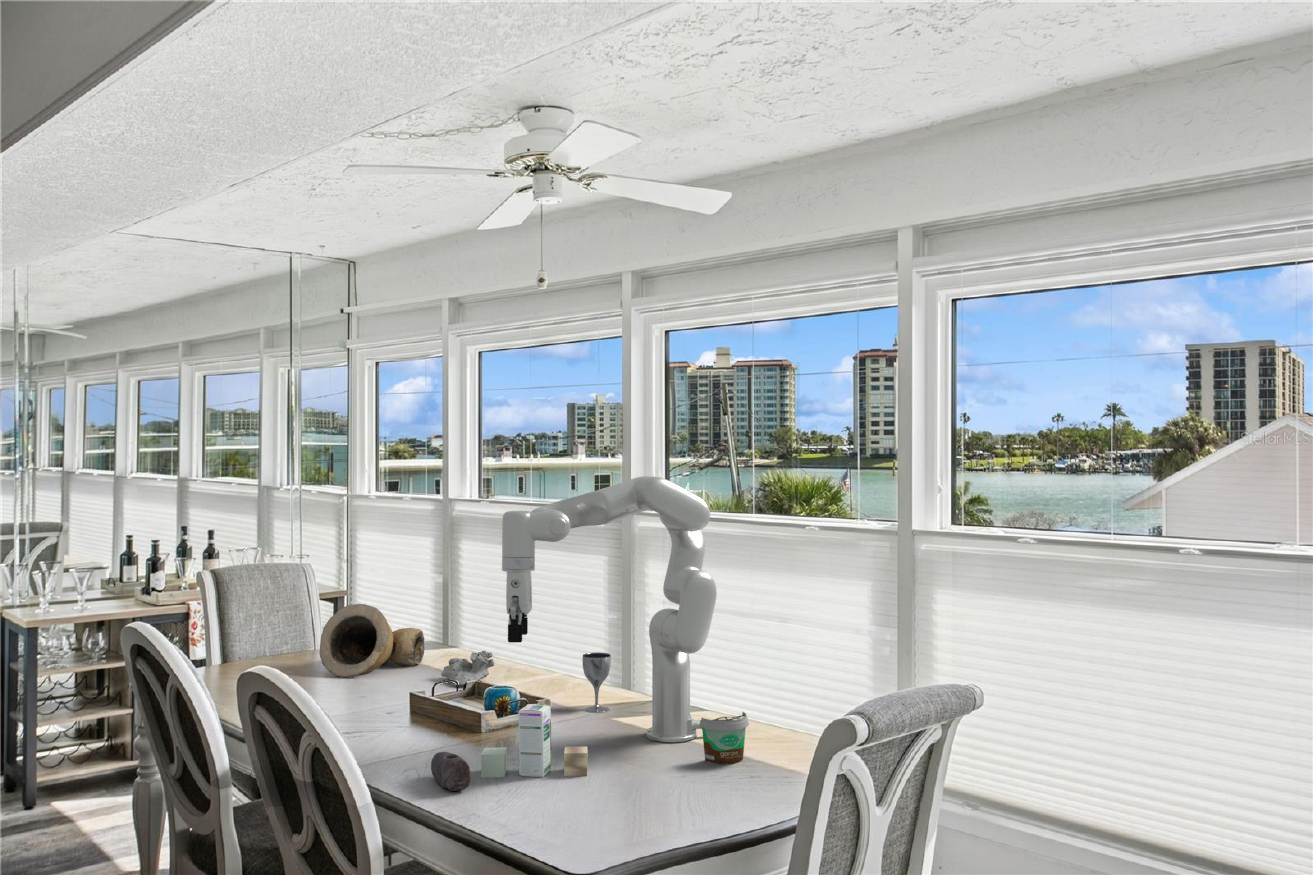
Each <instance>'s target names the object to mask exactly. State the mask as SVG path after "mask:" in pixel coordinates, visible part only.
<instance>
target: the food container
mask: <svg viewBox="0 0 1313 875" xmlns="http://www.w3.org/2000/svg"><path fill="white" fill-rule="evenodd" d="M741 714H742V715H738V716H737V715H736V716H720V717H718V718H714V719H707V718H705V717H701V718H700V719H699V720H700V726H699V727H702V729H701V732H702V740H703V741H702V743H703V752H704V753H703V754H704V761H705V762H707V763H711V764H714V765H715V764H717V765H733V764H737V763H740V762H742V761H743V759H744V753H745V752H744V751H745V740H746V728H747V727H749V725H750V723H749V719H748V716H747V713H746V712H744V711H742V713H741Z"/></svg>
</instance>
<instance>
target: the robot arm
mask: <svg viewBox="0 0 1313 875" xmlns="http://www.w3.org/2000/svg"><path fill="white" fill-rule="evenodd" d="M646 511H650V512H655V513H657V514H658V516H659V519H660V522H661V523H662V525H664V528H666V530H667V531H668V534H669V535H670V536H669V537H670V540H671V549H670V555H669V559H668V564H667V568H666V573H665V577H664V582H663V587H662V588H663V589H662V591H663V595H664V597H665V599H666V600H668V601H669V602H671V603H673V604H675V605H679V606H678V609H676V608H663V609H660V610H659V611H657V612H655V613H654V615H653V616H652V617H651V619H650V622H649V625H648V626H649V627H648V635H649V636H648V637H649V642H650V647H651V648H650V649H651V656H652V657H651V658H652V659H651V660H652V666H651V667H652V676H651V677H652V678H651V679H652V680H651V681H652V686H651V688H652V690H651V691H652V694H651V695H652V697H651V698H652V699H651V700H652V701H651V702H652V703H651V704H652V710H651V711H652V714H651V715H652V716H651V717H652V720H651V721H652V726H651V727H649V728H647V729H646V732H645V736H646V737H647V738H648V739H649V740H652V741H656V742H661V743H684V742H687V741H690V740H693V739H695V738H696V737H697V730H702V727H699V726H700V720H701V719H694V718H692V715H691V660H690V655H691V654H695V653H697V652H698V651H700V650H701V649H702V648H703V647H704V645H705V643H706V642H707V639H708V636H709V633H710V629H711V624H712V619H713V614H714V612H715V605H716V601H717V594H718V593H717V591H718V590H717V585H716V583H715V579H714V577H712V576H711V575H710V573H708V572H707V571H704V570H703V569H702V568H703V564H704V558H705V551H706V549H705V547H706V542H705V538H704V535H703V531H702V530H704V528H706V527H707V525H708V524H709V522H710V518H711V511H710V508H709V506H708V504H707V502H706V501H705V500H704V499H703V498H701V497H699V496H697V495H695V494H694V493H692V492H690V491H688V490H686V489H685V488H683V487H681V486H679V485H677V484H675V483H674V482H672V481H670V480H668V479H666V478H664V477H661V476H647V475H646V476H645V475H644V476H638V477H633V478H631V479H628V480H625V481H622V482H619V483H615V484H612V485H611V486H606V487H604V488H601V489H600V488H599V489H597V490H594V491H590V492H586V493H583V494H579V495H576V496H572V497H568V498H565V499H564V498H563V499H562V500H556V501H553V502H552V503H547V504H545V505H542V506H539V507H536V508H534V509H533V510H531V511H529V510H508V511H506V512H504V513H503V515H502V520H501V521H502V522H501V523H502V526H501V528H502V530H501V532H502V537H501V571H503V572H506V591H505V592H506V595H505V596H506V598H505V600H506V602H505V603H506V604H505V605H506V607H505V609H506V613H507V615H508V622H507V623H508V624H507V642H508V643H522V642H523V635H524V636H526V635H528V629H529V626H528V624H529V622H528V620H529V618H528V614H529V613H531V611H532V610H533V599H532V598H533V597H532V596H533V590H532V588H533V586H532V585H533V584H532V572H534V571H535V568H536V563H535V562H536V561H535V560H536V552H535V551H536V542H537V541H541V542H548V543H549V542H550V543H555V542H560V541H562V540H564V539H565V538H566V537H567V536H568V535H569V534H570V531H571V529H575V528H581V527H588V526H589V527H591V526H592V527H596V526H597V527H598V526H602V525H608V524H611V523H614V522H617V521H619V520H622V519H625V518H627V517H630V516H634V515H636V514H639V513H643V512H646Z"/></svg>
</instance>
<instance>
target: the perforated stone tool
mask: <svg viewBox="0 0 1313 875" xmlns="http://www.w3.org/2000/svg"><path fill="white" fill-rule="evenodd" d="M430 768H431V774H432V777H433V778H434V780H435V781H436V782H437V783H438V784H439V785H440V786H441V787H442V788H444V789H448V790H449V791H450V792H451V791H452V792H458V791H462V790H465V789H467V788H468V787H469V785H470V784H471V779H472V776H471V775H472V773H471V769H470V765H469V764H468V762H467V761H466V760H465V759H464V758H463V757H462V756H460V755H458V754H455V753H453V752H449V751H439V752H437V753H435V754H434V755H433V757H432V759H431V761H430Z"/></svg>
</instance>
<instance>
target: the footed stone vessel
mask: <svg viewBox="0 0 1313 875" xmlns="http://www.w3.org/2000/svg"><path fill="white" fill-rule="evenodd" d="M319 640H320V644H319V658H320V661H321V663H322V665H323V667H324V668H325V669H326V670H327V671H328V672H329V673H331V674H332V675H334V677H335V676H336V677H338V678H339V677H340V678H348V677H355V676H358V675H361V674H365V673H368V672H371V671H373V670H375V669H378V668H379V667H380V666H382V665H383V664H384V663H389V662H390V663H393V664H396V665H400V664H403V666H408V665H414V666H416V665H415V664H418V665H420V664H421V663H422V662H423V658H424V654H425V636H424V632H423V630H422V629H420V628H415V627H405V628H399V629H396V630H394V631H393V629H392V627H391V626H390V624H389V623H388V621H387V618H386V617H385V615H384V614H383V612H382V611H380V609H379V608H377V607H376V606H372V605H367V604H365V603H355V604H349V605H346V606H343V607H342V608H340V609H338V610H336V612H335V613H334V614H333V615H332V616H330V618H329V619H328V620H327V622H326V623H325V626H324V627H323V629H322V633H321V635H320V639H319ZM419 663H420V664H419ZM364 672H365V673H364Z"/></svg>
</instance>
